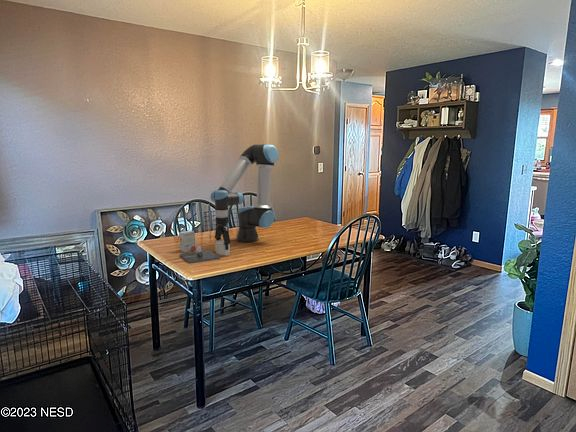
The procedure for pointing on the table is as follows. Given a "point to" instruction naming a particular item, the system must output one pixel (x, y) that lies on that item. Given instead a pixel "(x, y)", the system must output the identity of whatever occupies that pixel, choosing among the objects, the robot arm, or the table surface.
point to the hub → (199, 256)
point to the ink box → (187, 241)
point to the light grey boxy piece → (220, 247)
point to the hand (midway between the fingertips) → (222, 252)
